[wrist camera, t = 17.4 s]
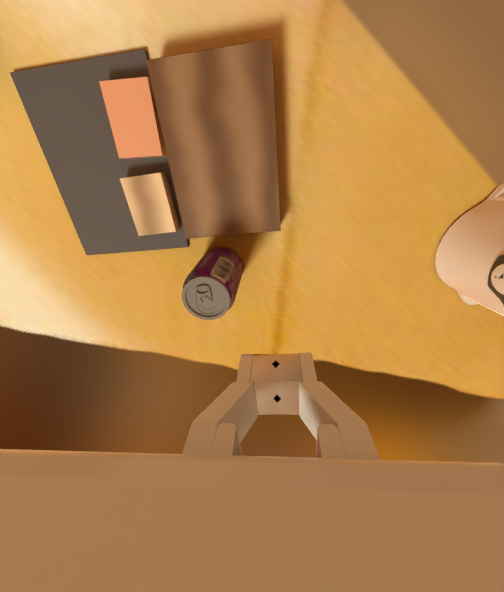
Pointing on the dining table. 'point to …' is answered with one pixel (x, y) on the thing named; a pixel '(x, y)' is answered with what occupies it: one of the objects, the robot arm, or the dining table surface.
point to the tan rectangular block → (151, 203)
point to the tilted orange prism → (133, 117)
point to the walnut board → (220, 137)
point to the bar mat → (92, 150)
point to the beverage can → (213, 284)
